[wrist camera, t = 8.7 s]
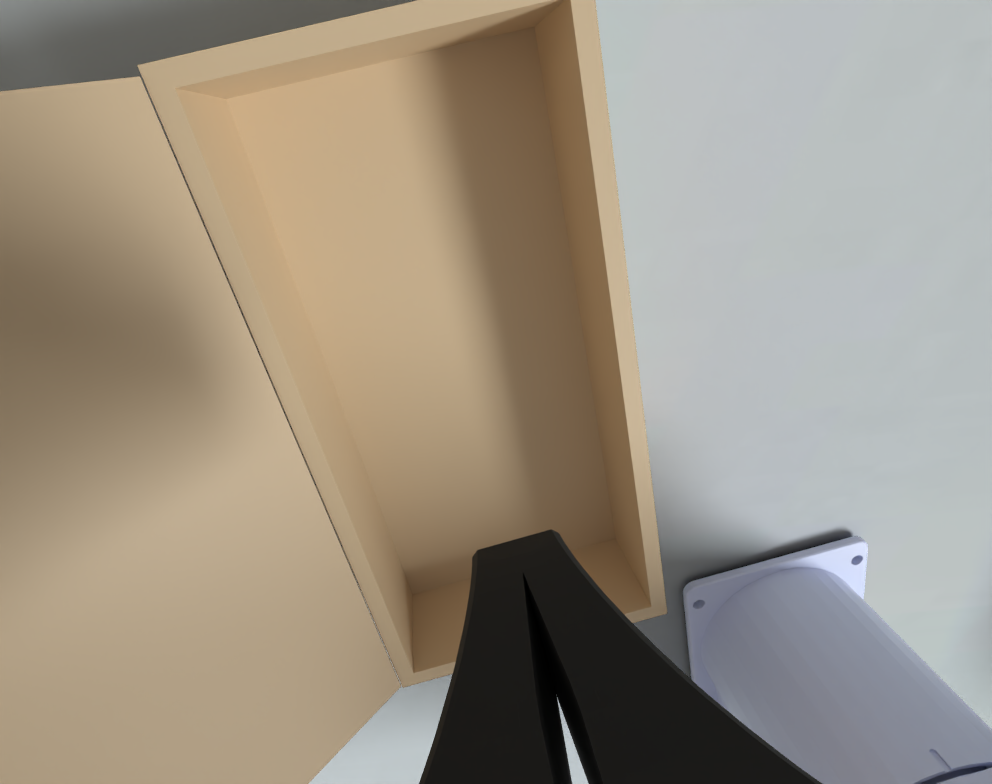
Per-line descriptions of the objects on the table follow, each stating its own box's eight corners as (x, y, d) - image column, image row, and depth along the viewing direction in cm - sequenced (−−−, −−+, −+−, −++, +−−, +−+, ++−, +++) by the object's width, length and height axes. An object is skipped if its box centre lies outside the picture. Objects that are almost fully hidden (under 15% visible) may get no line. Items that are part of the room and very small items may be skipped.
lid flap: (78, 1024, 12) (71, 1000, 13) (400, 686, 18) (389, 677, 19) (-980, 197, 5) (-920, 202, 5) (140, 76, 11) (130, 82, 11)
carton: (625, 536, 23) (667, 613, 19) (403, 597, 22) (403, 687, 19) (545, 3, 15) (590, -40, 11) (204, 83, 14) (137, 65, 11)
